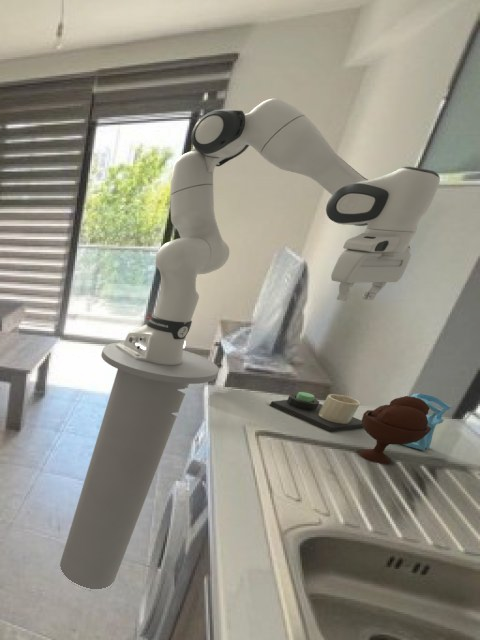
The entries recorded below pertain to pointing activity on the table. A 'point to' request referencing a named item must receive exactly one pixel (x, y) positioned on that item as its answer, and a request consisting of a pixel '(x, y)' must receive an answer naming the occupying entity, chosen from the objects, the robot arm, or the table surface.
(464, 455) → the table surface
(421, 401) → the ice cream bowl
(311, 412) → the scale
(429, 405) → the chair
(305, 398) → the tare button
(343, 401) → the cream bowl
